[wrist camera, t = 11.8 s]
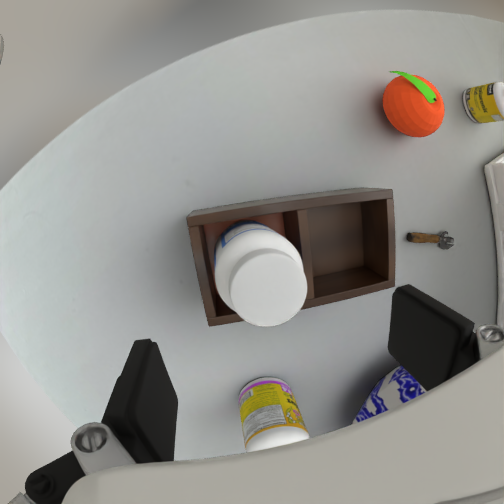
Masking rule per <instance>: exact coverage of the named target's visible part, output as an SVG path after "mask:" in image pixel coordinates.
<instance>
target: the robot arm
mask: <svg viewBox="0 0 504 504" xmlns="http://www.w3.org/2000/svg"><path fill="white" fill-rule="evenodd" d="M474 324H475V323H474V322H472V321H470V320H469V319H467V318H465V317H464V316H462V315H461V314H459V313H457V312H456V311H454V310H452V309H451V308H449V307H447V306H446V305H444V304H442V303H441V302H439V301H437V300H436V299H434V298H432V297H430V296H429V295H427V294H425V293H424V292H422V291H420V290H418V289H417V288H415V287H413V286H411V285H409V284H408V285H404V286H401V287H398V288H396V290H395V292H394V293H393V296H392V309H391V322H390V332H389V341H388V350H389V353H390V354H391V355H392V356H393V357H394V358H395V359H396V360H397V361H398V362H399V363H400V364H401V365H402V366H403V367H404V368H405V369H406V370H407V371H408V372H409V374H410V375H411V376H412V377H413V378H414V379H415V380H416V381H417V382H418V383H419V384H420V385H421V386H422V387H423V388H424V389H425V390H426V391H427V392H425V393H423V394H422V395H420V396H418V397H416V398H414V399H412V400H409V401H407V402H405V403H403V404H401V405H399V406H397V407H394V408H392V409H390V410H388V411H385V412H383V413H381V414H378V415H376V416H373V417H371V418H368V419H366V420H363V421H361V422H358V423H355V424H353V425H350V426H347V427H344V428H341V429H338V430H335V431H332V432H329V433H326V434H323V435H319V436H316V437H312V438H309V439H305V440H302V441H298V442H294V443H290V444H286V445H282V446H277V447H273V448H268V449H263V450H258V451H252V452H247V453H241V454H234V455H227V456H220V457H213V458H204V459H194V460H181V461H174V447H175V433H176V421H177V410H178V399H177V395H176V392H175V390H174V388H173V385H172V383H171V380H170V377H169V375H168V372H167V370H166V367H165V364H164V362H163V359H162V356H161V353H160V350H159V348H158V345H157V343H156V342H152V341H151V339H143V340H136V341H135V342H134V344H133V346H132V349H131V351H130V353H129V356H128V358H127V361H126V363H125V366H124V368H123V371H122V373H121V376H119V377H118V379H117V381H116V384H115V386H114V389H113V392H112V394H111V397H110V399H109V402H108V405H107V408H106V410H105V413H104V416H103V419H102V421H101V423H97V422H93V423H88V424H85V425H83V426H81V427H80V428H78V429H77V430H76V431H75V432H74V433H73V435H72V438H71V447H72V451H71V452H69V453H67V454H65V455H64V456H62V457H60V458H58V459H56V460H55V461H53V462H51V463H49V464H47V465H45V466H43V467H41V468H39V469H37V470H35V471H34V472H33V473H31V474H30V475H29V476H28V478H27V480H26V482H25V490H26V493H25V494H24V495H23V494H22V493H19V494H18V495H17V496H16V497H15V498H14V499H13V500H12V501H10V502H9V503H8V504H504V329H503V328H502V327H500V326H498V325H495V324H484V325H481V326H480V327H478V328H477V330H476V334H475V333H474V332H473V328H474Z"/></svg>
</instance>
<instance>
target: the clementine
mask: <svg viewBox="0 0 504 504" xmlns="http://www.w3.org/2000/svg"><path fill="white" fill-rule="evenodd" d="M390 72H393V73H397V74H399V75H402V76H399V77H396V78H394V79H393V80H392V81H391V82H390V83H389V84H388V85H387V87H386V89H385V91H384V94H383V100H382V101H383V108H384V111H385V114H386V116H387V118H388V120H389V121H390V123H391V124H392V125H393V126H394V127H395V128H396V129H397V130H398V131H400V132H402V133H404V134H406V135H408V136H412V137H425V136H428V135H430V134H432V133H434V132H435V131H436V130H437V129H438V128H439V126H440V125H441V123H442V120H443V117H444V103H443V100H442V97H441V95H440V93H439V92H438V90H437V89H436V87H435V86H434V85H433V84H432V83H430V82H429V81H427V80H426V79H424V78H422V77H419V76H416V75H410V74H407V73H404V72H399V71H390Z"/></svg>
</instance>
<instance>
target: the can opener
mask: <svg viewBox="0 0 504 504" xmlns="http://www.w3.org/2000/svg"><path fill="white" fill-rule="evenodd" d="M445 234H448V232H446V231H445V232H443V233H442V235H441V236H438V235H428V234H423V233H408V234H407V240H408V241H409V242H414V243H426V242H430V243H438V242H439V243H440V247H441V248H442V249H449V248H451V247H452V246H453V245H451V244H446V242H450V243H453V241H454V239H453V238H451V237H447V238H446V237H444V235H445Z"/></svg>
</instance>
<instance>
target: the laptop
mask: <svg viewBox="0 0 504 504" xmlns="http://www.w3.org/2000/svg"><path fill="white" fill-rule="evenodd" d="M484 172H485V177H486V181H487V186H488V191H489V196H490V202H491V208H492V214H493V221H494V229H495V238H496V249H497V265H498V311H497V325H498V326H500V327H502V328H503V329H504V153H503V154H501V155H500V156H498V157H497V158H495V159H494V160H493V161H491V162H490V163H488V164H487V165H485V169H484Z"/></svg>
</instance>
